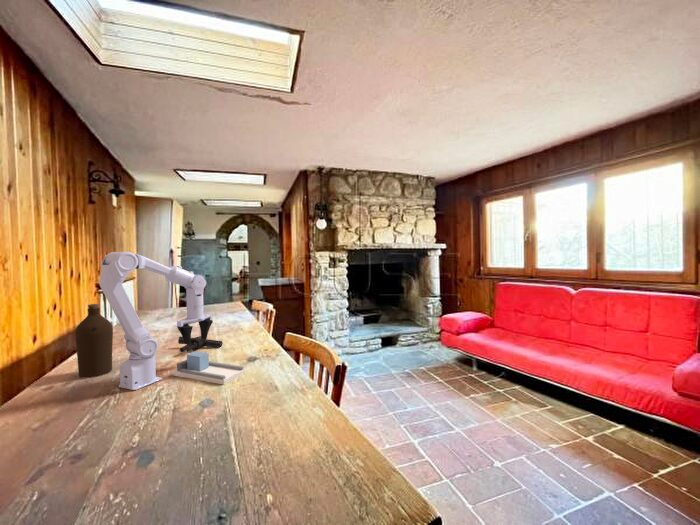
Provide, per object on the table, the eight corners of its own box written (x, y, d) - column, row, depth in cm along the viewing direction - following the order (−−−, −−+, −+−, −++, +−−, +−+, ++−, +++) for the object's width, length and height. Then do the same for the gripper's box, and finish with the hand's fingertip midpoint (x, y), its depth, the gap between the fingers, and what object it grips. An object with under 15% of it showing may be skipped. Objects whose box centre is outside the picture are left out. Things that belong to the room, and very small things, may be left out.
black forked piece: (208, 346, 130) (224, 336, 145) (163, 341, 131) (183, 332, 146) (207, 358, 130) (223, 347, 145) (162, 353, 131) (182, 343, 146)
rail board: (224, 384, 101) (223, 372, 101) (173, 375, 110) (173, 364, 110) (245, 373, 111) (244, 362, 111) (196, 365, 119) (196, 355, 119)
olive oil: (120, 369, 116) (118, 302, 115) (88, 380, 106) (85, 307, 105) (102, 366, 120) (100, 301, 119) (69, 376, 110) (67, 305, 109)
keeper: (199, 370, 109) (199, 356, 109) (187, 368, 111) (186, 354, 111) (208, 367, 113) (208, 353, 113) (196, 365, 115) (196, 351, 115)
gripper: (186, 309, 110) (187, 347, 111) (217, 303, 124) (218, 337, 124) (172, 308, 113) (173, 345, 113) (204, 302, 126) (205, 335, 127)
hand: (196, 341), depth 119 cm, fingers open, 7 cm apart
